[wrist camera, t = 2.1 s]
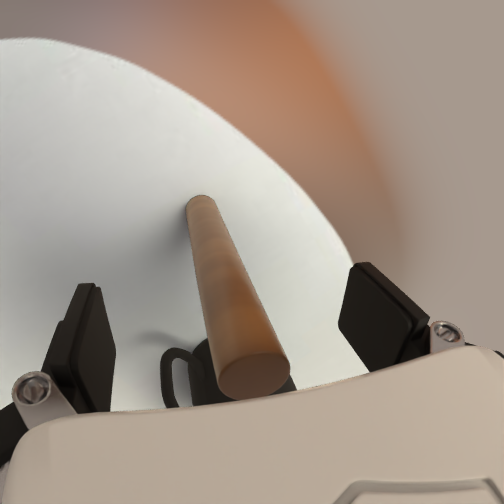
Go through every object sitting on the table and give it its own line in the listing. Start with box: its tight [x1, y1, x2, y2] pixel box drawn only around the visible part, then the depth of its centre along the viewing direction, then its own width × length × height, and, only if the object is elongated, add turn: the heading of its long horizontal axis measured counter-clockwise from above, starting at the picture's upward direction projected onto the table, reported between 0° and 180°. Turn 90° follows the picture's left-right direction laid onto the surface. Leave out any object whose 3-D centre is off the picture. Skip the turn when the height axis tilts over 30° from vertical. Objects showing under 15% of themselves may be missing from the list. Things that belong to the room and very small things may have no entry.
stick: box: [186, 195, 290, 400], centre depth 14 cm, size 2×2×14 cm
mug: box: [160, 339, 297, 408], centre depth 21 cm, size 8×12×10 cm
